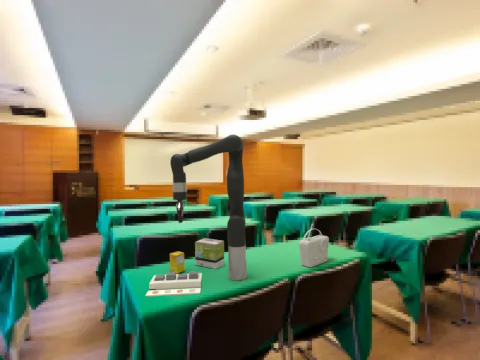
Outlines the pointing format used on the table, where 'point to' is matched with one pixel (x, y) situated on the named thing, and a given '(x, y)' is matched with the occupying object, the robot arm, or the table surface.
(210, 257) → the tea box
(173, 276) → the button
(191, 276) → the button
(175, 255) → the supplement box
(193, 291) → the pattern card
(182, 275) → the button
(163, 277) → the button
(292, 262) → the table surface
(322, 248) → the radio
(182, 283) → the button board
